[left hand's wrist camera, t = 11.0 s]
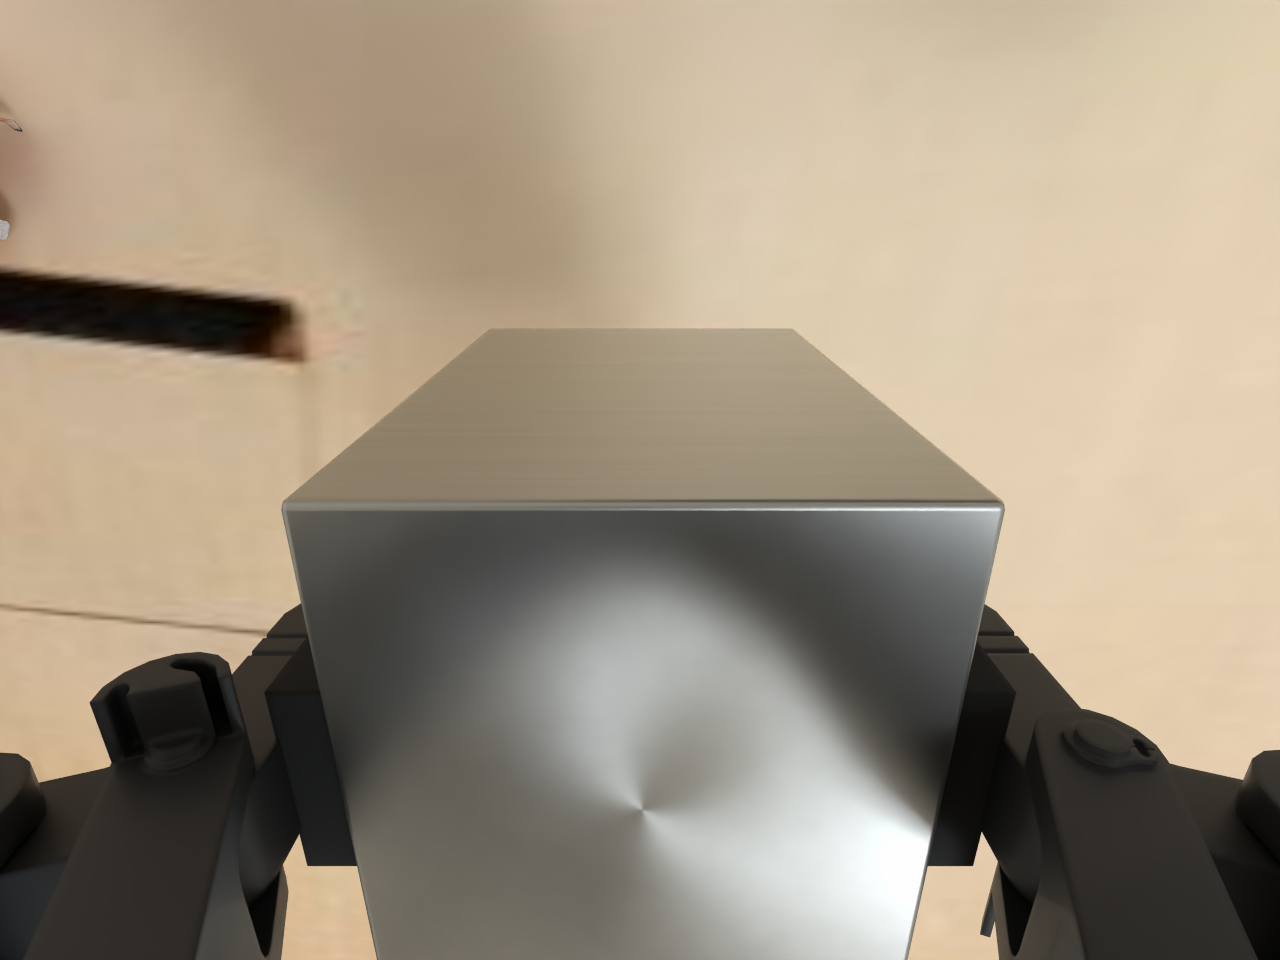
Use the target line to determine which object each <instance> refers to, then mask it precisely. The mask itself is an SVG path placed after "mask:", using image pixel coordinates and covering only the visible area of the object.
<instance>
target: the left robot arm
mask: <svg viewBox="0 0 1280 960" xmlns="http://www.w3.org/2000/svg"><path fill="white" fill-rule="evenodd" d="M90 705H91V708H92V711H93V713H94V716H95V719H96V721H97V724H98V727H99V729H100V732H101V735H102V738H103V740H104V743H105V746H106V748H107V751H108V754H109V757H110V759H111V762H112V763H111V765H110V767H107V768H104V769H100V770H95V771H91V772H86V773H81V774H77V775H72V776H68V777H63V778H59V779H54V780H50V781H45V782H40V783H39V782H38V780H37V778H36V775H35V773H34V771H33V768H32V766H31V764H30V762H29V761H28V760H26V759H25V758H23V757H22V756H20V755H19V754H12V753H0V960H281V955H282V946H283V936H284V927H285V918H286V909H287V900H288V886H287V880H286V875H285V871H284V867H283V863H284V861H285V859H286V858H287V856H288V854H289V852H290V850H291V848H292V846H293V845H294V843H295V841H296V839H297V837H298V835H299V834H300V838H301V842H302V846H303V850H304V854H305V858H306V862H307V866H357V862H356V858H355V853H354V848H353V844H352V839H351V834H350V830H349V825H348V820H347V815H346V811H345V806H344V801H343V797H342V792H341V787H340V783H339V778H338V773H337V769H336V764H335V759H334V754H333V750H332V745H331V740H330V736H329V731H328V726H327V722H326V717H325V712H324V707H323V703H322V698H321V693H320V689H319V684H318V679H317V675H316V670H315V665H314V661H313V656H312V651H311V646H310V642H309V637H308V632H307V628H306V623H305V618H304V614H303V609H302V604H299V605H298V606H296V607H295V608H293V609H292V610H290V611H288V612H287V613H285V614H284V615H283V616H282V617H281V619H280V620H279V621H278V622H277V623H276V624H275V626H274V627H273V628H272V629H271V630H270V631H269V632H268V634H267V638H263V639H262V641H261V642H260V643H259V644H258V645H257V646H256V647H255V649H254V650H253V651H252V656H248V657H247V658H246V659H245V660H244V661H243V662H242V664H241V665H240V666H239V667H238V668H237V669H236V671H235V672H234V673H233V674H231V670H230V666H229V663H228V662H227V661H225V660H224V659H223V658H221V657H220V656H219V655H215V654H209V653H203V652H194V653H183V654H174V655H171V656H167V657H163V658H160V659H156V660H152V661H149V662H147V663H145V664H142V665H140V666H138V667H136V668H133V669H131V670H129V671H127V672H124V673H123V674H121V675H120V676H118V677H117V678H116V679H114V680H113V681H111V682H110V683H108V684H107V685H105V686H104V687H103V688H102V689H101V690H100V691H99V692H98V693H97V695H96V696H95V697H94V698H93V699H92V700H91V701H90ZM981 832H982V833H983V835H984V836H985V838H986V840H987V842H988V844H989V846H990V847H991V849H992V851H993V853H994V855H995V857H996V858H997V860H998V864H997V867H996V871H995V875H994V879H993V882H992V886H991V890H990V893H989V897H988V901H987V905H986V908H985V912H984V916H983V920H982V926H981V932H980V934H981V935H984V936H987V937H990V936H991V932H992V928H993V925H994V921H995V925H996V934H997V943H998V953H999V960H1280V750H1271V751H1263V752H1262V753H1260V754H1259V755H1257V756H1256V757H1254V758H1253V759H1252V761H1251V763H1250V765H1249V768H1248V770H1247V772H1246V775H1245V777H1244V779H1243V780H1240V779H1236V778H1231V777H1226V776H1222V775H1217V774H1213V773H1208V772H1204V771H1199V770H1194V769H1190V768H1185V767H1181V766H1177V765H1173V764H1170V763H1169V762H1168V760H1167V759H1166V758H1165V756H1164V755H1163V754H1162V752H1161V751H1160V750H1159V748H1158V747H1157V745H1155V744H1154V743H1153V742H1152V741H1150V740H1149V739H1148V738H1147V737H1145V736H1144V735H1143V734H1141V733H1140V732H1139V731H1138V730H1136V729H1134V728H1132V727H1130V726H1128V725H1126V724H1124V723H1123V722H1121V721H1119V720H1117V719H1115V718H1113V717H1110V716H1106V715H1103V714H1100V713H1097V712H1093V711H1090V710H1086V709H1081V708H1080V707H1079V706H1078V705H1077V703H1076V702H1075V701H1074V700H1073V699H1072V698H1071V697H1070V695H1069V694H1068V693H1067V692H1066V691H1065V690H1064V689H1063V687H1062V686H1061V685H1060V684H1059V683H1058V682H1057V680H1056V679H1055V678H1054V677H1053V676H1052V675H1051V674H1050V672H1049V671H1048V670H1047V669H1046V668H1045V667H1044V666H1043V664H1042V663H1041V662H1040V661H1039V660H1038V659H1037V658H1036V656H1035V655H1034V654H1033V653H1029V648H1028V647H1027V646H1026V645H1025V644H1024V643H1023V642H1022V640H1021V639H1020V638H1019V637H1018V636H1014V631H1013V630H1012V629H1011V628H1010V627H1009V625H1008V624H1007V623H1006V622H1005V621H1004V620H1003V619H1002V617H1001V616H1000V615H999V614H998V613H997V612H996V611H995V610H993V609H991V608H990V607H988V606H987V605H985V604H984V608H983V613H982V617H981V622H980V626H979V631H978V636H977V640H976V645H975V650H974V654H973V659H972V663H971V668H970V673H969V677H968V682H967V687H966V691H965V696H964V700H963V705H962V710H961V714H960V719H959V723H958V728H957V733H956V737H955V742H954V747H953V751H952V756H951V760H950V765H949V770H948V774H947V779H946V784H945V788H944V793H943V797H942V802H941V807H940V811H939V816H938V820H937V825H936V830H935V834H934V839H933V844H932V848H931V853H930V857H929V862H928V866H973V864H974V860H975V856H976V852H977V848H978V844H979V840H980V836H981Z"/></svg>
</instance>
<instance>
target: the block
mask: <svg viewBox="0 0 1280 960" xmlns="http://www.w3.org/2000/svg"><path fill="white" fill-rule="evenodd" d="M1004 511H1005V509H1004V503H1003V501H1002V500H1001V499H999V498H998V497H997V496H996V495H995V494H993V493H992V492H991V491H990V490H988V489H987V488H986V487H985V486H984V485H982V484H981V483H980V482H979V481H977V480H976V479H975V478H974V477H973V476H971V475H970V474H969V473H968V472H966V471H965V470H964V469H963V468H962V467H960V466H959V465H958V464H957V463H956V462H954V461H953V460H952V459H951V458H949V457H948V456H947V455H946V454H945V453H943V452H942V451H941V450H940V449H938V448H937V447H936V446H935V445H934V444H932V443H931V442H930V441H929V440H927V439H926V438H925V437H924V436H923V435H921V434H920V433H919V432H918V431H916V430H915V429H914V428H913V427H912V426H910V425H909V424H908V423H907V422H906V421H904V420H903V419H902V418H901V417H899V416H898V415H897V414H896V413H895V412H893V411H892V410H891V409H890V408H888V407H887V406H886V405H885V404H884V403H882V402H881V401H880V400H879V399H877V398H876V397H875V396H874V395H873V394H871V393H870V392H869V391H868V390H866V389H865V388H864V387H863V386H862V385H860V384H859V383H858V382H857V381H855V380H854V379H853V378H852V377H851V376H849V375H848V374H847V373H846V372H845V371H843V370H842V369H841V368H840V367H838V366H837V365H836V364H835V363H834V362H832V361H831V360H830V359H829V358H827V357H826V356H825V355H824V354H823V353H821V352H820V351H819V350H818V349H816V348H815V347H814V346H813V345H812V344H810V343H809V342H808V341H807V340H805V339H804V338H803V337H802V336H801V335H799V334H798V333H797V332H796V331H795V330H793V329H490V330H488V331H487V332H486V333H485V334H483V335H482V336H481V337H480V338H479V339H477V340H476V341H475V342H474V343H473V344H471V345H470V346H469V347H468V348H467V349H465V350H464V351H463V352H462V353H461V354H459V355H458V356H457V357H456V358H455V359H453V360H452V361H451V362H450V363H449V364H447V365H446V366H445V367H444V368H443V369H441V370H440V371H439V372H438V373H437V374H435V375H434V376H433V377H432V378H431V379H429V380H428V381H427V382H426V383H425V384H423V385H422V386H421V387H420V388H419V389H417V390H416V391H415V392H414V393H413V394H411V395H410V396H409V397H408V398H407V399H405V400H404V401H403V402H402V403H401V404H399V405H398V406H397V407H396V408H395V409H393V410H392V411H391V412H390V413H389V414H387V415H386V416H385V417H384V418H383V419H381V420H380V421H379V422H378V423H377V424H375V425H374V426H373V427H372V428H371V429H369V430H368V431H367V432H366V433H365V434H363V435H362V436H361V437H360V438H359V439H357V440H356V441H355V442H354V443H353V444H351V445H350V446H349V447H348V448H347V449H345V450H344V451H343V452H342V453H341V454H339V455H338V456H337V457H336V458H335V459H333V460H332V461H331V462H330V463H329V464H327V465H326V466H325V467H324V468H323V469H321V470H320V471H319V472H318V473H317V474H315V475H314V476H313V477H312V478H311V479H309V480H308V481H307V482H306V483H305V484H303V485H302V486H301V487H300V488H299V489H297V490H296V491H295V492H294V493H293V494H291V495H290V496H289V497H288V498H287V499H285V500H284V501H283V504H282V515H283V520H284V524H285V529H286V534H287V538H288V543H289V548H290V553H291V557H292V562H293V567H294V571H295V576H296V581H297V585H298V590H299V595H300V599H301V604H302V609H303V614H304V618H305V623H306V628H307V632H308V637H309V642H310V646H311V651H312V656H313V661H314V665H315V670H316V675H317V679H318V684H319V689H320V693H321V698H322V703H323V707H324V712H325V717H326V722H327V726H328V731H329V736H330V740H331V745H332V750H333V754H334V759H335V764H336V769H337V773H338V778H339V783H340V787H341V792H342V797H343V801H344V806H345V811H346V815H347V820H348V825H349V830H350V834H351V839H352V844H353V848H354V853H355V858H356V862H357V867H358V872H359V877H360V881H361V886H362V891H363V895H364V900H365V905H366V909H367V914H368V919H369V923H370V928H371V933H372V938H373V942H374V947H375V952H376V956H377V960H907V959H908V954H909V950H910V945H911V941H912V936H913V931H914V927H915V922H916V917H917V913H918V908H919V904H920V899H921V894H922V890H923V885H924V880H925V876H926V871H927V867H928V862H929V857H930V853H931V848H932V844H933V839H934V834H935V830H936V825H937V820H938V816H939V811H940V807H941V802H942V797H943V793H944V788H945V784H946V779H947V774H948V770H949V765H950V760H951V756H952V751H953V747H954V742H955V737H956V733H957V728H958V723H959V719H960V714H961V710H962V705H963V700H964V696H965V691H966V687H967V682H968V677H969V673H970V668H971V663H972V659H973V654H974V650H975V645H976V640H977V636H978V631H979V626H980V622H981V617H982V613H983V608H984V603H985V599H986V594H987V590H988V585H989V580H990V576H991V571H992V566H993V562H994V557H995V553H996V548H997V543H998V539H999V534H1000V529H1001V525H1002V520H1003V516H1004Z"/></svg>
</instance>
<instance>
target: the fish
mask: <svg viewBox="0 0 1280 960" xmlns="http://www.w3.org/2000/svg"><path fill="white" fill-rule="evenodd" d="M2 121H4V122H6V123H7V124H8V125H9V126H10V127H12V128H13V129H14V130H17V131H21V132H22V130H21V128H20V127H19V126H18V125H17V124H16V122H15V121H14V120H11V119H0V122H2ZM9 226H10V224H9V223H8V222H7V221H4V220H0V239H1V240H5V239H7V237H8V233H9Z"/></svg>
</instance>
